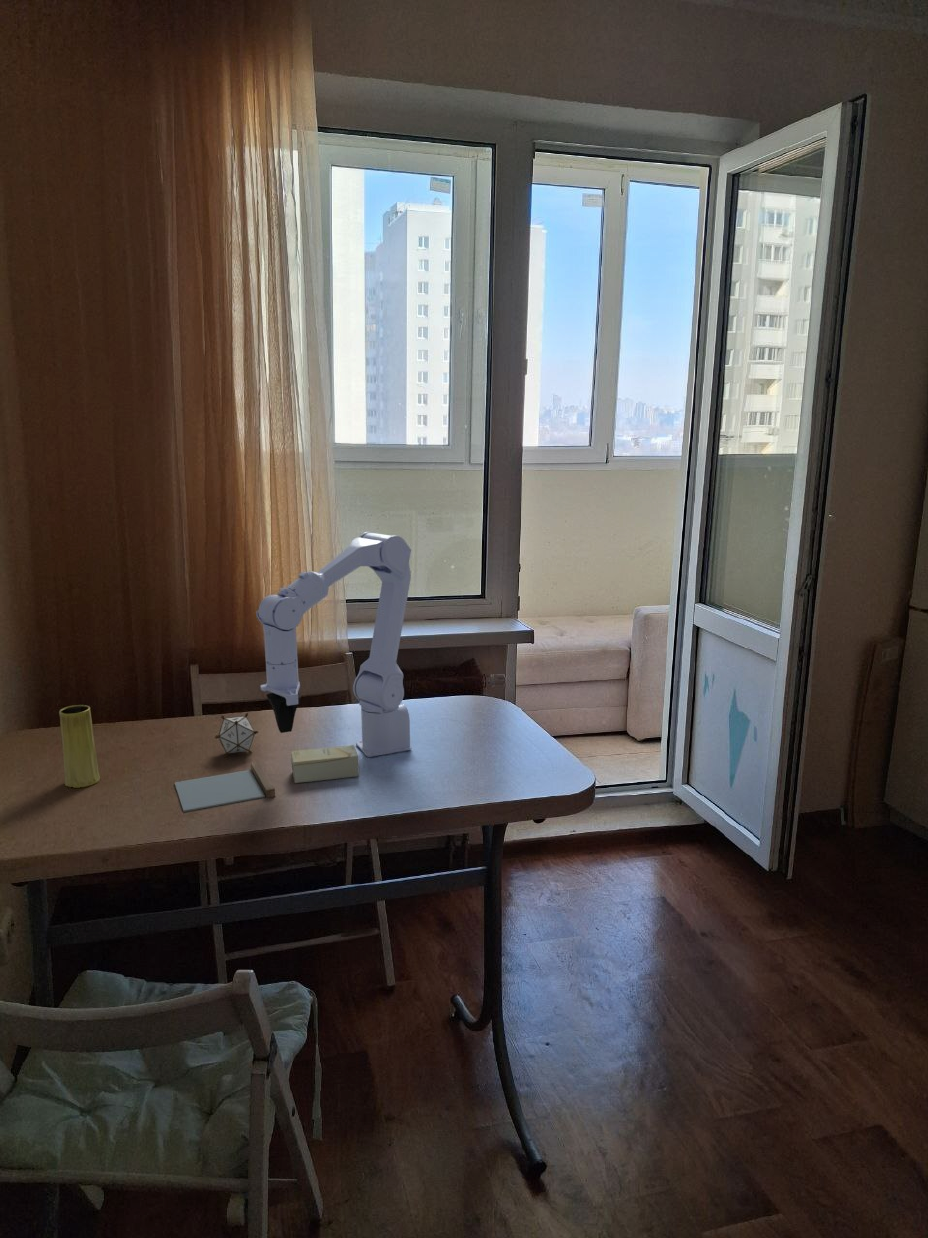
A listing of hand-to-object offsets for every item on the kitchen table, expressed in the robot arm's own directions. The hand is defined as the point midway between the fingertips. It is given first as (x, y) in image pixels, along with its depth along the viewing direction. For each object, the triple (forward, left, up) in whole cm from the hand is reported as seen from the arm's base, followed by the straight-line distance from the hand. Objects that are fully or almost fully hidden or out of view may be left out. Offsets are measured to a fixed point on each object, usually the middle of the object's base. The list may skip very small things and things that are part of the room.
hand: (285, 731), depth 161 cm
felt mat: (+13, 0, -9) cm, 16 cm away
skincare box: (-1, 0, -7) cm, 7 cm away
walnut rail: (+5, 0, -9) cm, 11 cm away
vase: (+35, -15, -10) cm, 40 cm away
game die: (+6, -17, -10) cm, 21 cm away
